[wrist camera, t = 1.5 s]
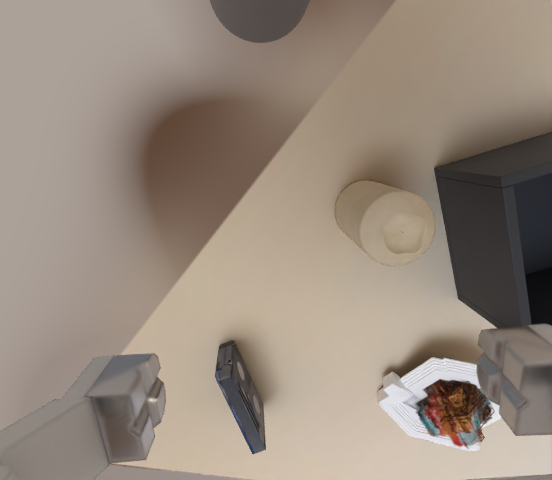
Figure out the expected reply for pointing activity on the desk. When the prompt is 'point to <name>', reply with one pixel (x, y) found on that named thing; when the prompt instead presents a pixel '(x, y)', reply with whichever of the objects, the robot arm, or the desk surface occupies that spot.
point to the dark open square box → (502, 231)
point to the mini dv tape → (241, 396)
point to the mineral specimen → (440, 403)
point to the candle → (385, 221)
